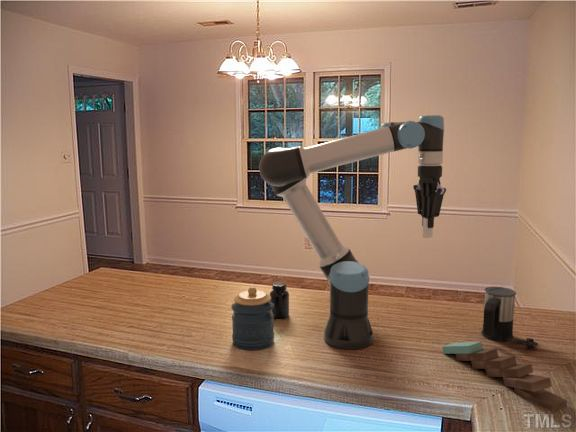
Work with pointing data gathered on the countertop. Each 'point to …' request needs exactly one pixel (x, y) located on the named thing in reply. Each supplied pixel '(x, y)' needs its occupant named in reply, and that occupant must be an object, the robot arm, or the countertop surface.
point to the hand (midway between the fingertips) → (427, 237)
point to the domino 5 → (528, 382)
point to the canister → (252, 320)
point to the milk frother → (501, 315)
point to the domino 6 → (543, 398)
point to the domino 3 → (495, 363)
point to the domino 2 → (478, 355)
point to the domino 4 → (511, 371)
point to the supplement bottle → (280, 300)
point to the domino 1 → (462, 347)
